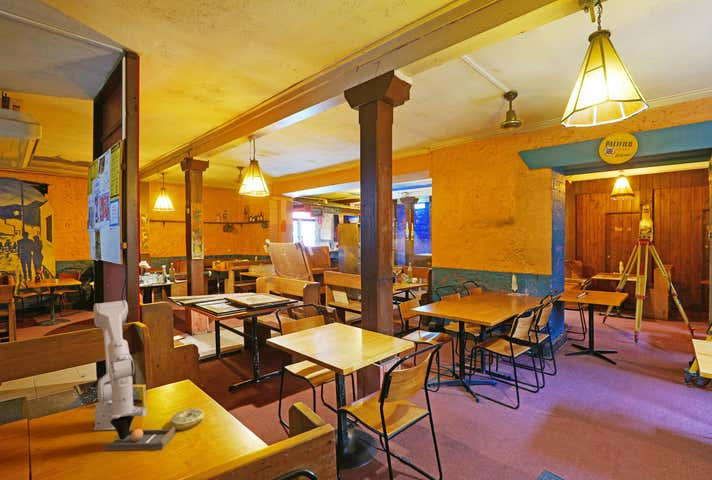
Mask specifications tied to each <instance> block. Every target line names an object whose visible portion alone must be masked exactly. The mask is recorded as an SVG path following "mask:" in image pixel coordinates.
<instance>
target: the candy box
mask: <svg viewBox="0 0 712 480" xmlns="http://www.w3.org/2000/svg"><path fill="white" fill-rule="evenodd" d="M132 385H133V406H136V407H145V406H147V403H148V402H147V387H146V386H147V385H146V384H132Z"/></svg>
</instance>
